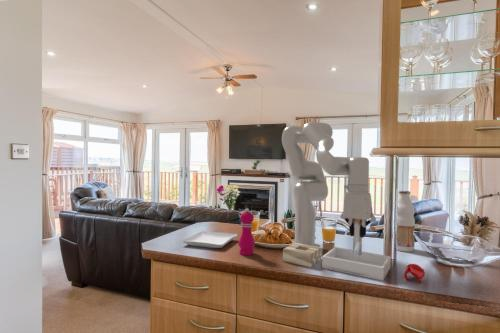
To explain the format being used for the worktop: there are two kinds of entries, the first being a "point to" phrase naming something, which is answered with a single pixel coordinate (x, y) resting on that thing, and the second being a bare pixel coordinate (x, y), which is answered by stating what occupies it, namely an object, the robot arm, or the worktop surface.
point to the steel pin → (357, 237)
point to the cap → (414, 271)
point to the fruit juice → (405, 222)
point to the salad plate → (209, 239)
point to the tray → (357, 263)
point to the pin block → (302, 254)
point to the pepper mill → (246, 234)
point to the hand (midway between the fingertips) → (357, 235)
